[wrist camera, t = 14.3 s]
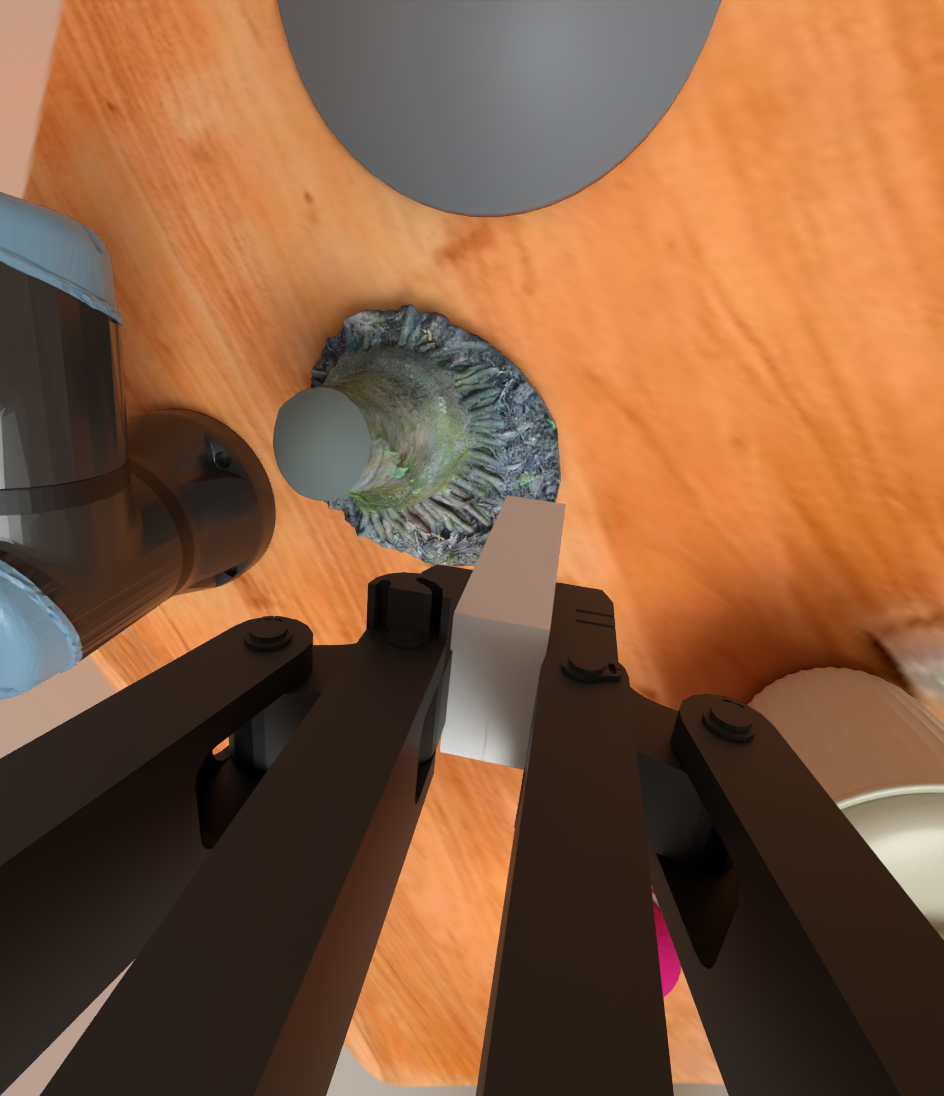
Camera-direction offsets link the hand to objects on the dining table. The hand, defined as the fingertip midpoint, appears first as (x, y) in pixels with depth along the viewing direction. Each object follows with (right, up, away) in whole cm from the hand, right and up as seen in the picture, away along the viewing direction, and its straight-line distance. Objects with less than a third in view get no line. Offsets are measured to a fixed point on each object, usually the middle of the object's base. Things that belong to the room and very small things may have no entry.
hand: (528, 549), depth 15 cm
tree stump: (-5, +8, +30) cm, 32 cm away
